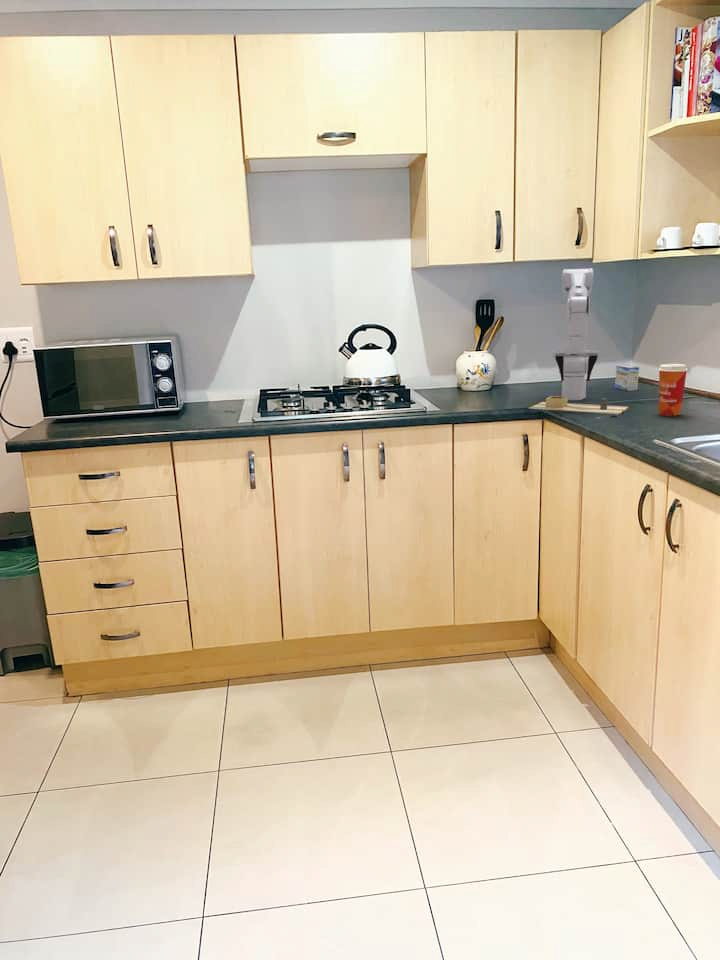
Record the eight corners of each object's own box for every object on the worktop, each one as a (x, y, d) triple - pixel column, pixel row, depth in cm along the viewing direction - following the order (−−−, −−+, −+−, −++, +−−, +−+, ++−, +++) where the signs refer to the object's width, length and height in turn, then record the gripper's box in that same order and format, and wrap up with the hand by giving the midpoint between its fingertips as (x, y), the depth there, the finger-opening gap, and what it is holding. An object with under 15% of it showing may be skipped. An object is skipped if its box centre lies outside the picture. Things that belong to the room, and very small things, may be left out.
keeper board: (542, 404, 244) (543, 391, 243) (628, 409, 229) (629, 395, 228) (528, 411, 233) (528, 397, 232) (617, 417, 218) (618, 402, 217)
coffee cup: (648, 413, 222) (652, 364, 218) (670, 411, 224) (673, 362, 220) (669, 418, 214) (673, 367, 210) (690, 415, 217) (695, 365, 213)
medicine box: (614, 388, 274) (615, 365, 271) (624, 387, 275) (625, 364, 273) (627, 391, 266) (629, 367, 264) (637, 390, 268) (639, 366, 265)
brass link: (551, 404, 238) (551, 395, 237) (567, 405, 235) (567, 396, 234) (545, 406, 234) (545, 398, 233) (562, 407, 231) (562, 399, 230)
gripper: (552, 336, 219) (550, 381, 222) (602, 336, 216) (600, 381, 218) (552, 336, 226) (551, 380, 229) (601, 335, 222) (599, 380, 225)
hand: (575, 380), depth 224 cm, fingers open, 7 cm apart
